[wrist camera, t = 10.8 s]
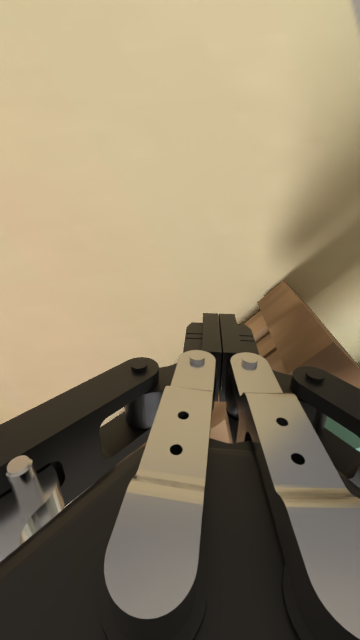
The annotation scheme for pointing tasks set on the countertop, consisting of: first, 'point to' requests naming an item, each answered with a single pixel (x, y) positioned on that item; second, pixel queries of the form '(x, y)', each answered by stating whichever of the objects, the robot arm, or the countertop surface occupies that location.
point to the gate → (290, 345)
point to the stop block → (343, 433)
